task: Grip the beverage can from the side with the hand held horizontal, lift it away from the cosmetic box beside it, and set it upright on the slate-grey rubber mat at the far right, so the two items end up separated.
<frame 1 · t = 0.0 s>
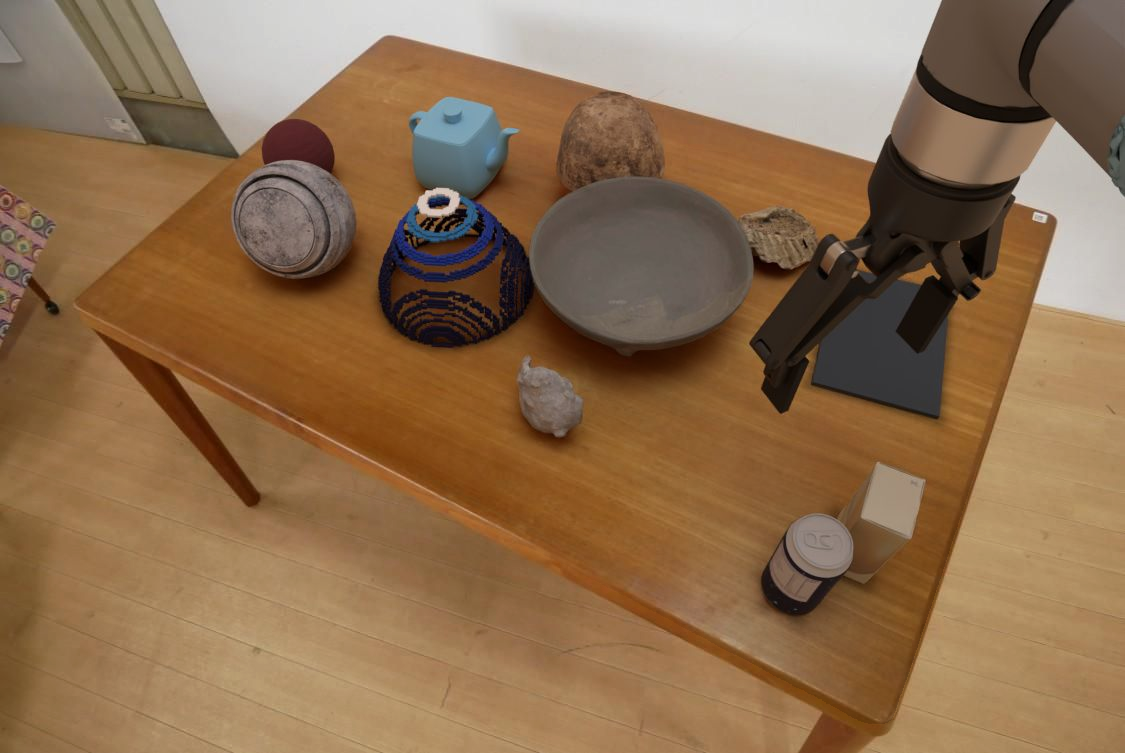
hand: (843, 369, 57), 21 cm above the table, tool pointing down, fingers open, 13 cm apart
slate mat: (882, 337, 85), on the table
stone: (549, 420, 80), on the table
cosmetic box: (849, 551, 70), on the table
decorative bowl: (458, 288, 92), on the table
seashell: (775, 255, 94), on the table
decorative orb: (315, 261, 96), on the table
bowl: (635, 305, 89), on the table
decorative ball: (310, 183, 106), on the table
teapot: (471, 179, 105), on the table
brown rounded lump: (609, 197, 102), on the table
beverage can: (788, 589, 67), on the table
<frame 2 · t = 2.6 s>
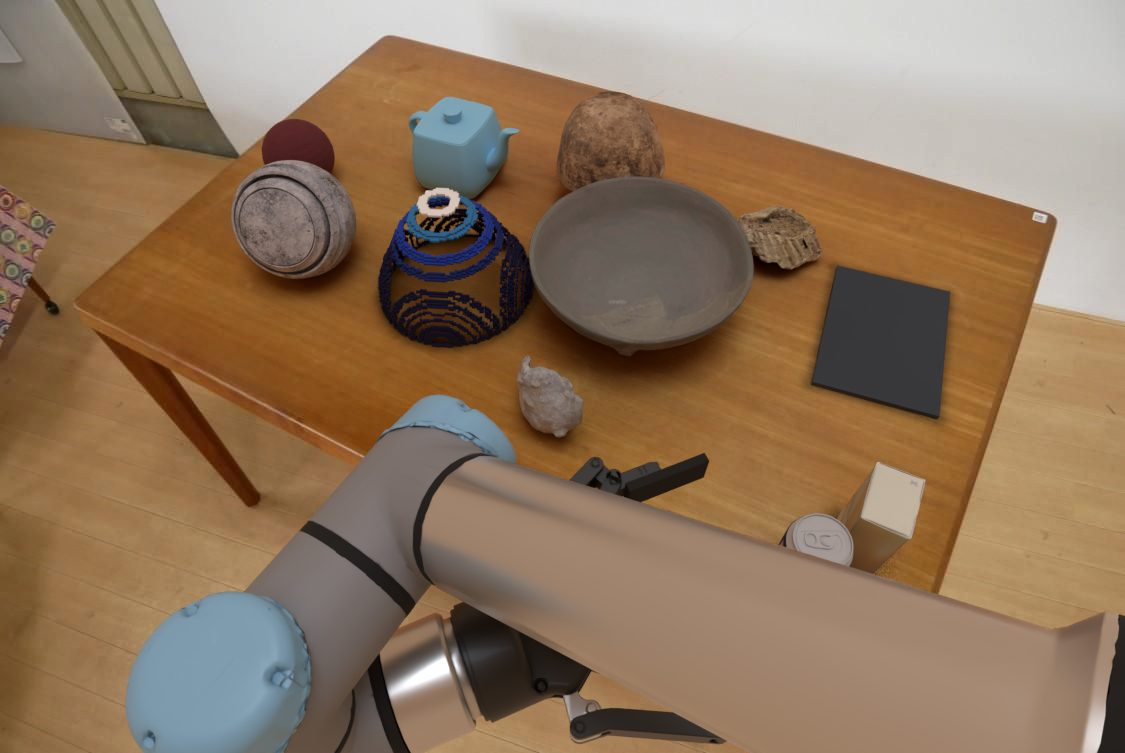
hand: (751, 544, 49), 20 cm above the table, tool horizontal, fingers open, 13 cm apart
nothing on the table moved.
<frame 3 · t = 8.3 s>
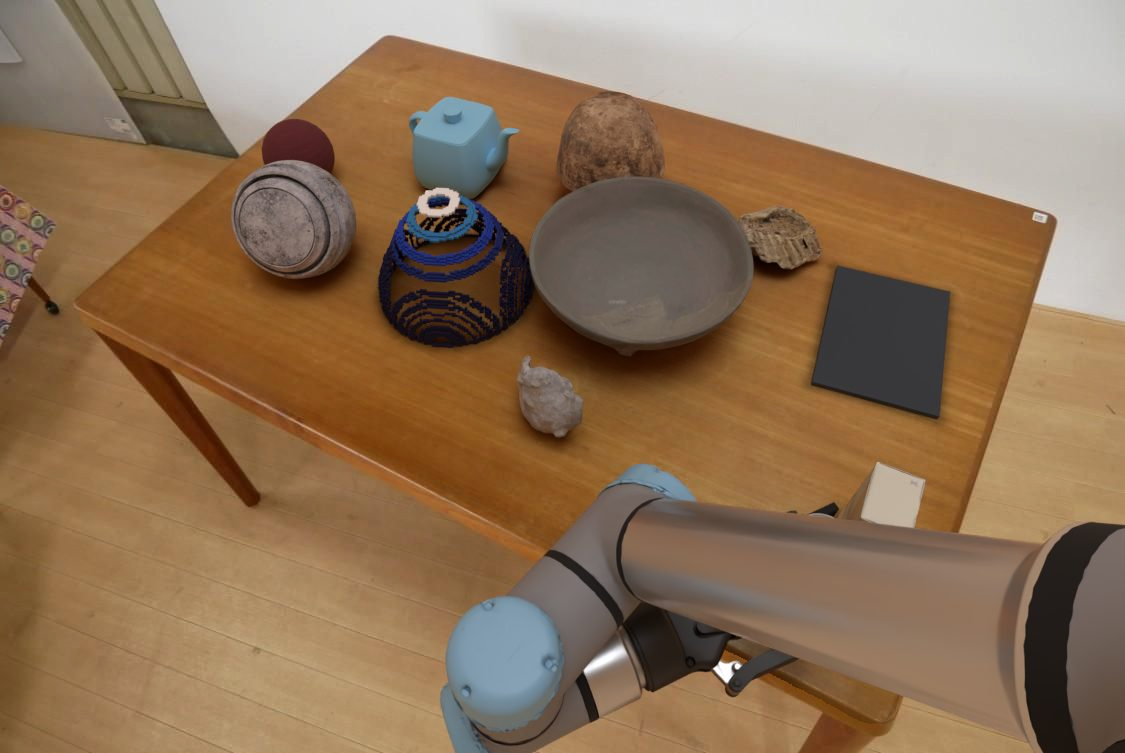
hand: (853, 541, 63), 7 cm above the table, tool horizontal, fingers closed on beverage can, 6 cm apart
beverage can: (788, 589, 67), on the table, touching gripper
everything else where it was.
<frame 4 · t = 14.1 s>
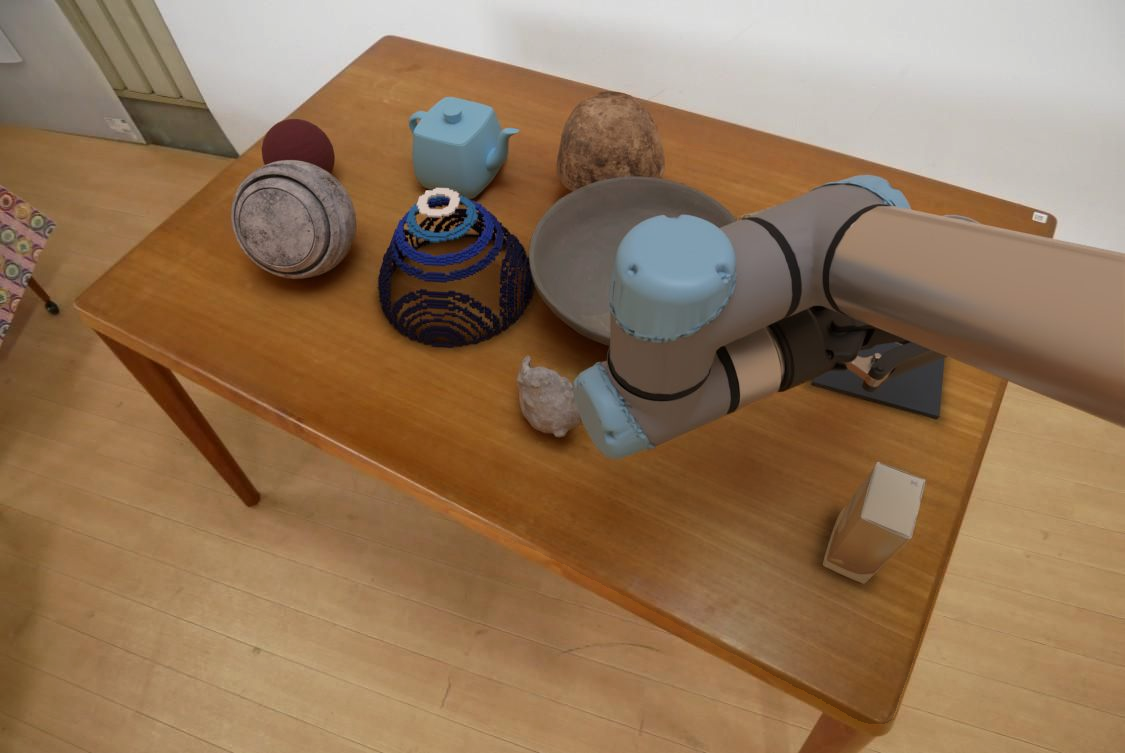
hand: (979, 262, 62), 22 cm above the table, tool horizontal, fingers closed on beverage can, 6 cm apart
beverage can: (904, 330, 66), point 15 cm above the table, touching gripper
everything else where it was.
when the fingers open (7 cm above the table, at t = 19.9 s): beverage can stays where it is, resting on slate mat.
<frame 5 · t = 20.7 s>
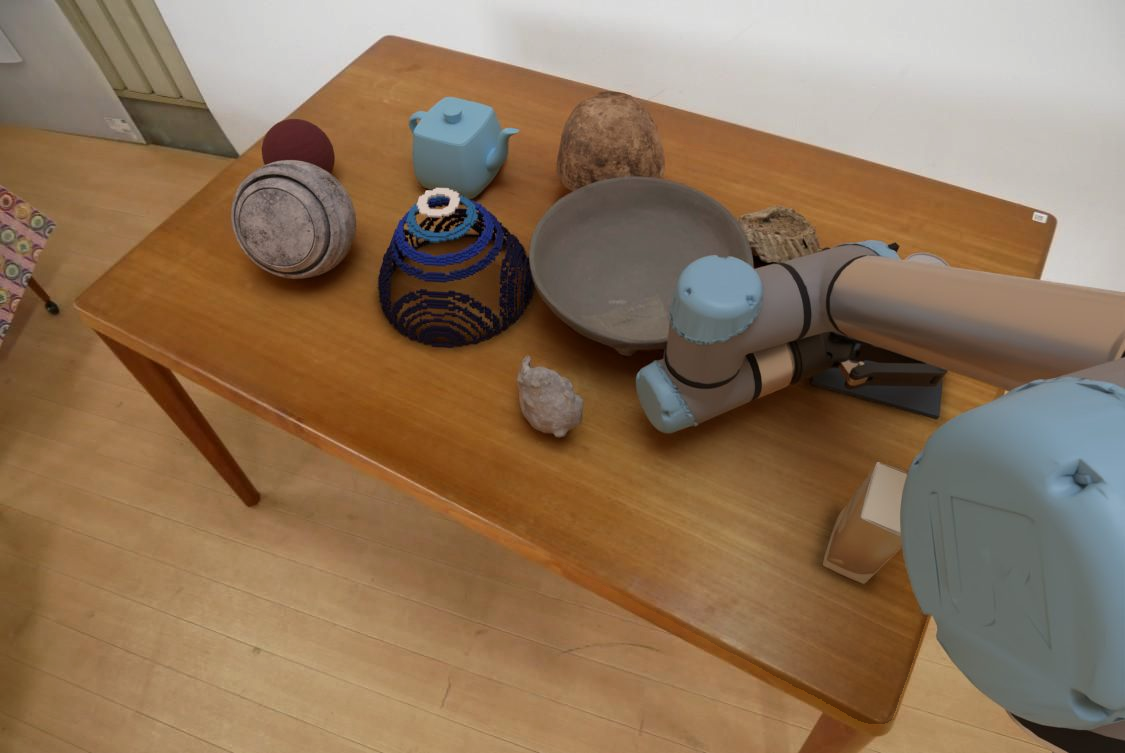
hand: (933, 290, 79), 8 cm above the table, tool horizontal, fingers open, 13 cm apart
beverage can: (887, 339, 84), resting on slate mat
everything else where it was.
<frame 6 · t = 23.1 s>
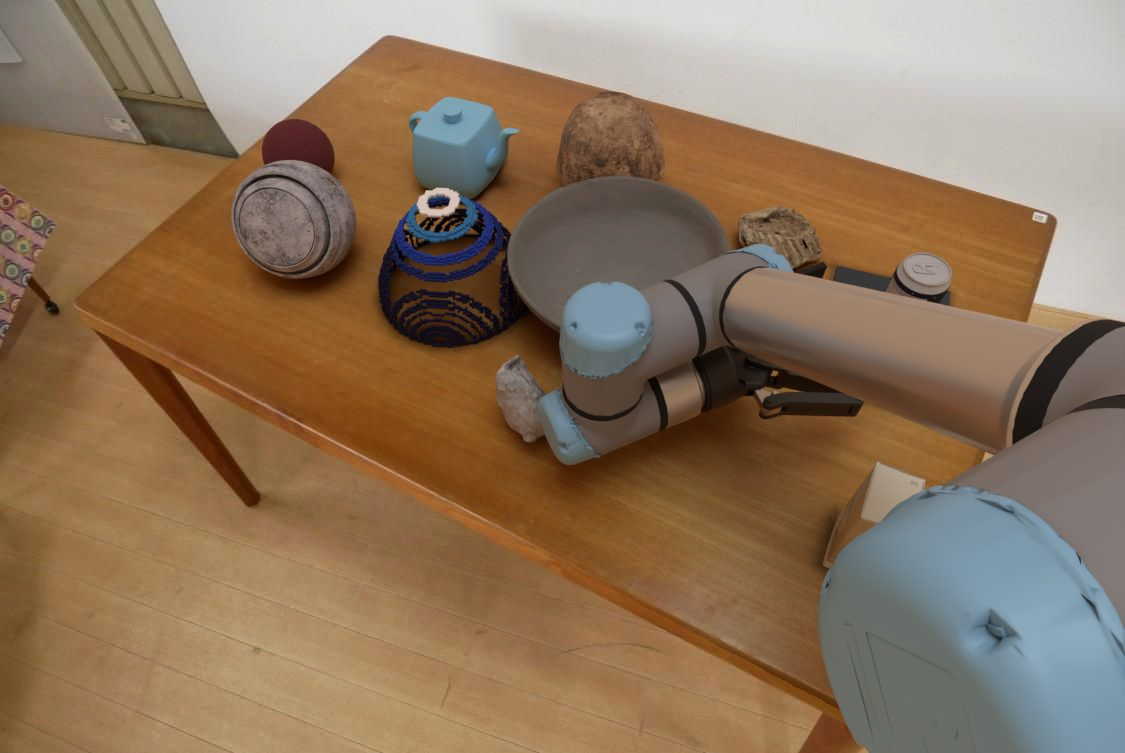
hand: (860, 313, 75), 9 cm above the table, tool horizontal, fingers open, 13 cm apart
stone: (538, 421, 79), on the table, touching arm
bowl: (616, 305, 89), on the table, touching hand
everything else where it was.
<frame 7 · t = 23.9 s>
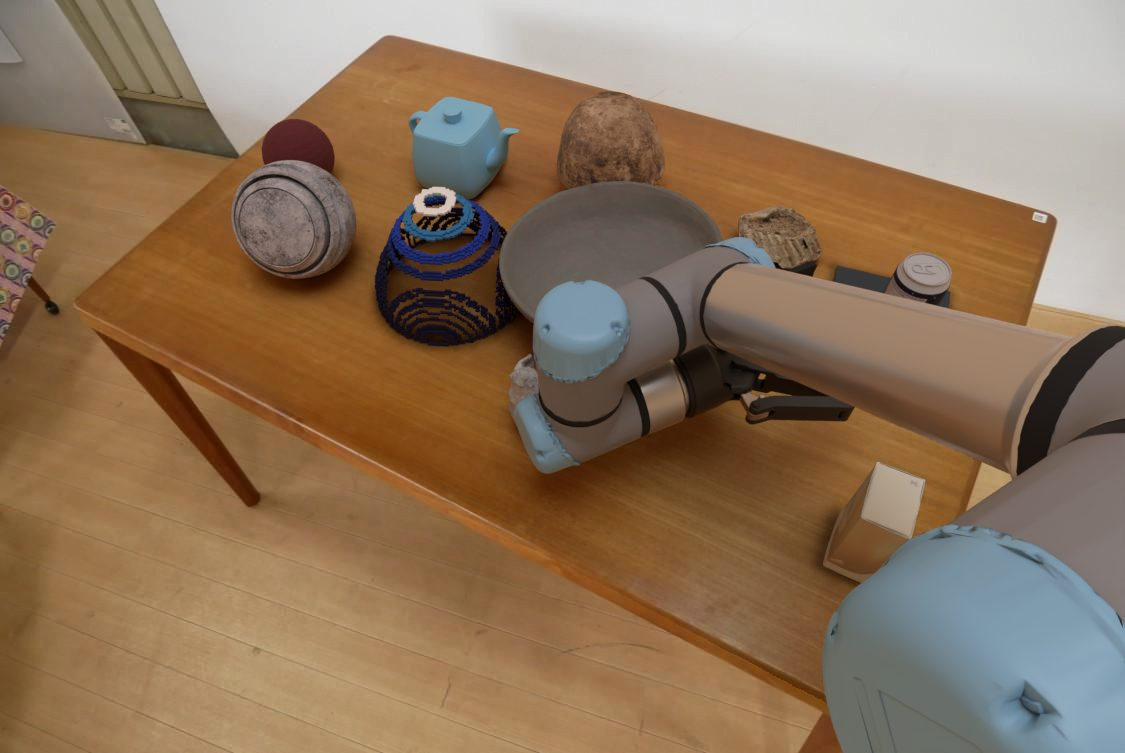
hand: (851, 313, 72), 12 cm above the table, tool horizontal, fingers open, 13 cm apart
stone: (538, 423, 79), on the table
bowl: (613, 310, 88), on the table, touching hand
everything else where it was.
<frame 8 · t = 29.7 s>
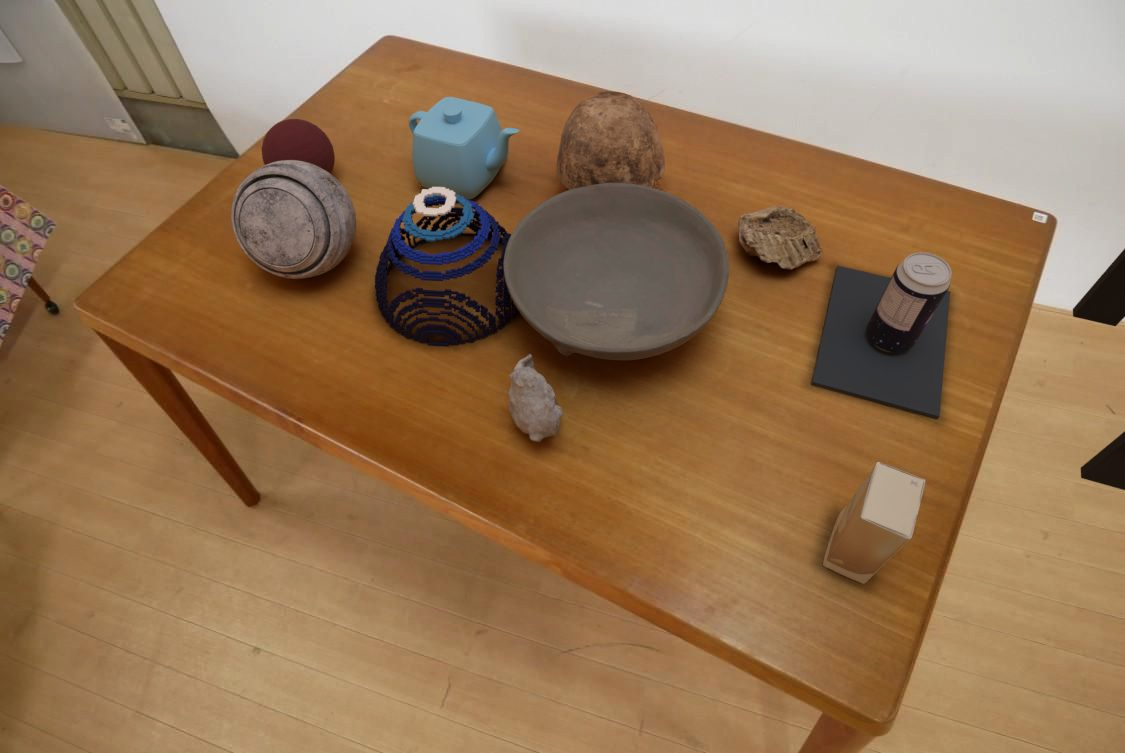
hand: (1098, 392, 46), 29 cm above the table, tool pointing down, fingers open, 13 cm apart
bowl: (613, 313, 89), on the table
everything else where it was.
at the end: beverage can inside the target area on the slate mat (0.7 cm from its centre), point 0.4 cm above the slate mat's base; beverage can tilted 0°; cosmetic box moved 0.2 cm from its start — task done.
